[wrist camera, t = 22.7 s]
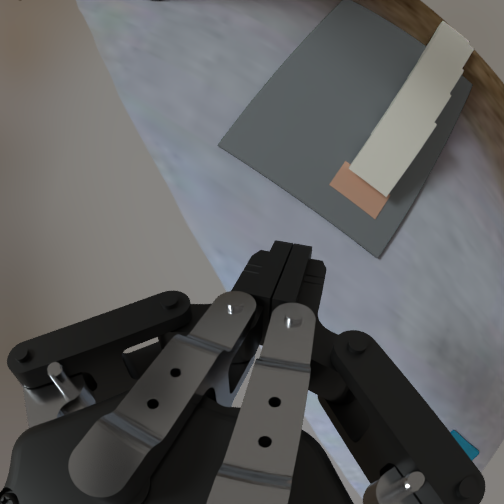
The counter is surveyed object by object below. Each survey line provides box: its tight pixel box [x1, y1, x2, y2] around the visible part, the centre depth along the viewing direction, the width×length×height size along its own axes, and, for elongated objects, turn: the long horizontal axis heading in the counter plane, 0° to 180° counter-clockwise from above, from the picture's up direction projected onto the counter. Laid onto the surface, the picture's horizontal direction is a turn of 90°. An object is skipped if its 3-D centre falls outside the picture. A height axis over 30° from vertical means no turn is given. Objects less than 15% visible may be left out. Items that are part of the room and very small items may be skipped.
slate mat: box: [218, 0, 473, 258], centre depth 31 cm, size 22×30×1 cm
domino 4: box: [349, 95, 437, 197], centre depth 28 cm, size 5×2×10 cm
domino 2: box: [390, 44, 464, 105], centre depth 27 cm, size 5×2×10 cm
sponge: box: [450, 430, 479, 460], centre depth 33 cm, size 2×12×6 cm
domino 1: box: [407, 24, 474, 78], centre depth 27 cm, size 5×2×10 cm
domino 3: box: [371, 68, 452, 134], centre depth 28 cm, size 5×2×10 cm
